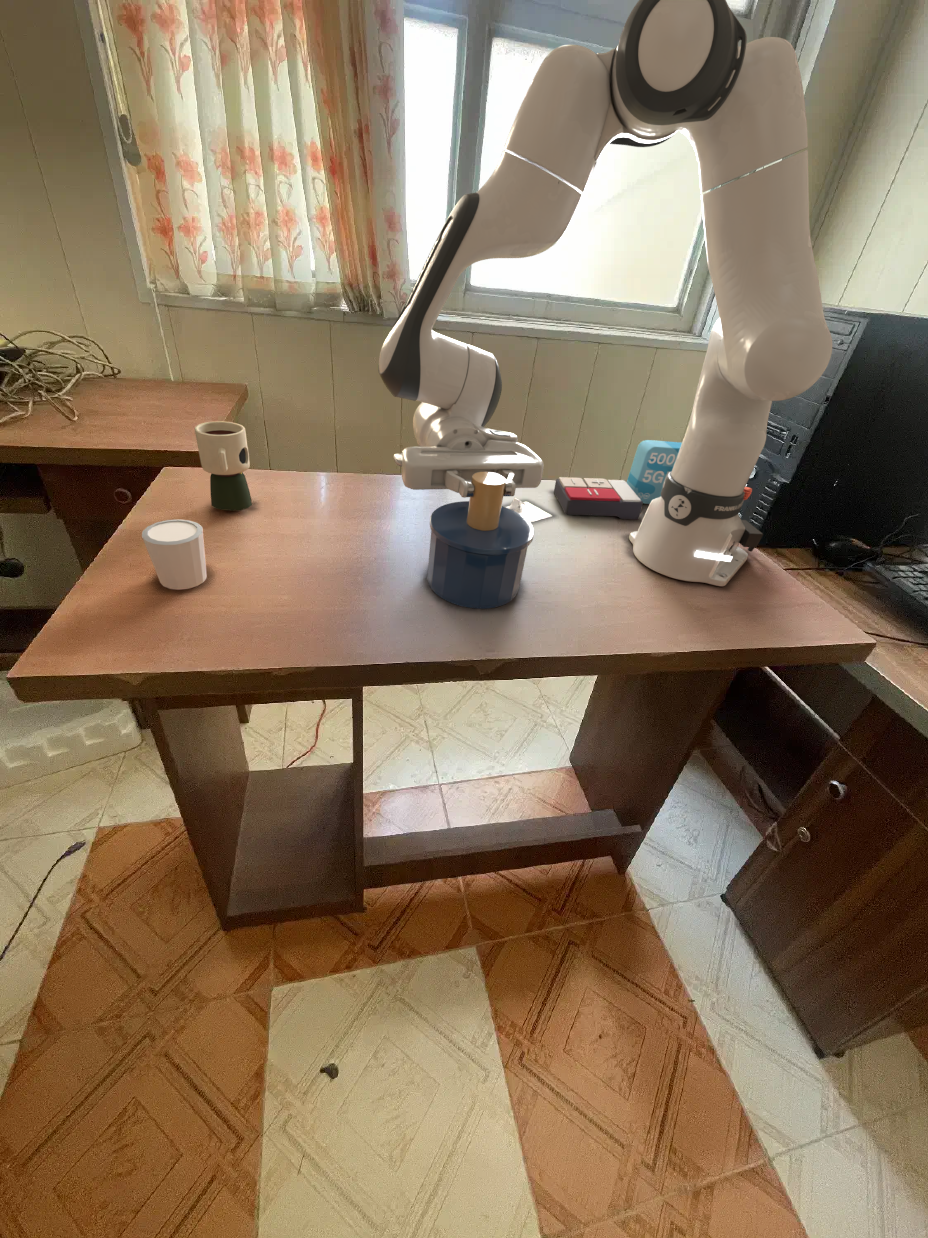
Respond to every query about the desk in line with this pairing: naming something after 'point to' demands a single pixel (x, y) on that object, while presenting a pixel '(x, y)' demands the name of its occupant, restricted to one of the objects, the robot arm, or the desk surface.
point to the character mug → (225, 463)
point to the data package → (652, 468)
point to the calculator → (597, 497)
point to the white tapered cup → (177, 552)
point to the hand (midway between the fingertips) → (490, 491)
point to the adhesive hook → (517, 505)
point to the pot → (473, 575)
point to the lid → (483, 520)
